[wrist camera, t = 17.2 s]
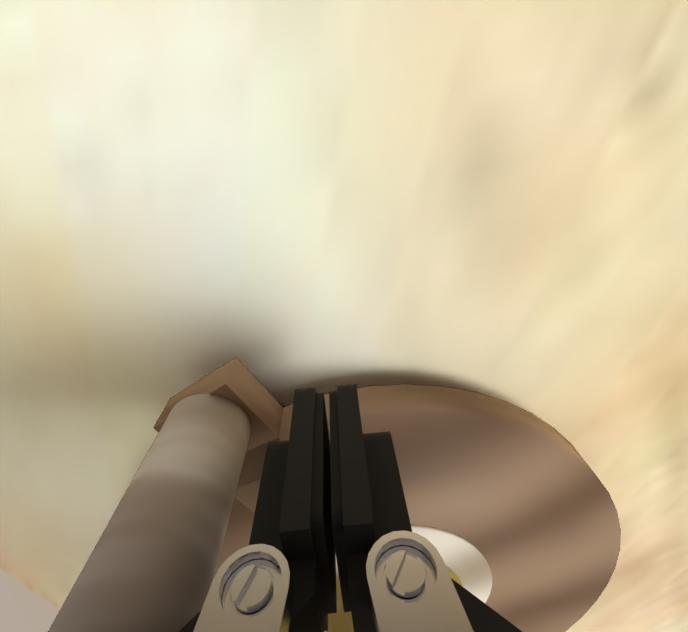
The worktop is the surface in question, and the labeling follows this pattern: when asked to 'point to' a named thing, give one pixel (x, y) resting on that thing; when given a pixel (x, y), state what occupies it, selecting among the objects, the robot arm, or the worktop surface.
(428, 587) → the robot arm
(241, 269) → the worktop surface
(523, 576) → the turntable
